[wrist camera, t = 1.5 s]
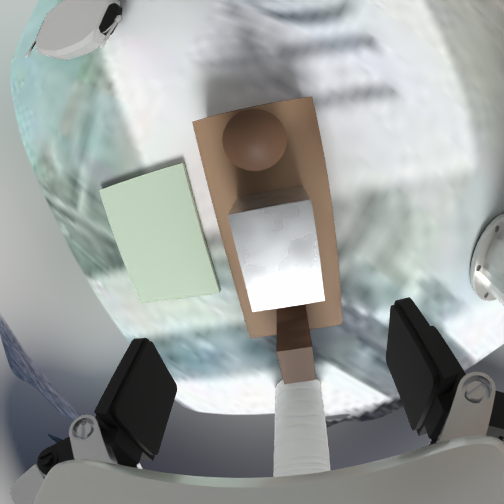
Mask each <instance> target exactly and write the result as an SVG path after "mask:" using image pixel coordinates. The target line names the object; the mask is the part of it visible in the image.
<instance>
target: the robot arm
mask: <svg viewBox="0 0 504 504" xmlns="http://www.w3.org/2000/svg"><path fill="white" fill-rule="evenodd" d="M470 280H471V285H472V288H473V290H474V292H475V293H476V294H477V295H478V296H479V297H480V298H481V299H483V300H486V301H491V300H495V299H497V300H498V301H499V302H500V303H501V304H502V305H503V306H504V213H503V214H501V215H499V216H497V217H496V218H495V219H494V220H493V221H492V222H491V223H490V224H489V225H488V226H487V228H486V229H485V231H484V232H483V233H482V235H481V237H480V239H479V241H478V243H477V246H476V248H475V251H474V254H473V258H472V262H471V268H470ZM386 362H387V365H388V367H389V370H390V372H391V375H392V377H393V380H394V382H395V385H396V388H397V390H398V393H399V395H400V398H401V401H402V403H403V406H404V409H405V411H406V414H407V417H408V420H409V423H410V426H411V428H412V430H417V433H418V435H419V436H420V435H423V434H425V433H427V434H428V436H429V438H430V439H431V440H430V443H429V445H428V446H426V447H422V448H419V449H416V450H412V451H409V452H406V453H403V454H400V455H396V456H393V457H389V458H386V459H382V460H378V461H374V462H370V463H366V464H362V465H357V466H352V467H347V468H343V469H338V470H332V471H325V472H319V473H311V474H303V475H294V476H282V477H267V478H216V477H200V476H187V475H178V474H170V473H163V472H157V471H150V470H145V469H142V467H141V465H140V463H139V461H140V458H141V459H144V460H149V461H153V459H154V456H155V455H157V454H158V452H159V449H160V445H161V442H162V438H163V435H164V432H165V428H166V425H167V422H168V418H169V415H170V412H171V408H172V405H173V402H174V399H175V396H176V392H177V385H176V383H175V381H174V380H173V378H172V376H171V374H170V373H169V371H168V369H167V368H166V366H165V364H164V362H163V360H162V359H161V357H160V355H159V353H158V351H157V350H156V348H155V346H154V344H153V342H151V341H149V340H148V339H147V338H139V339H133V340H132V342H131V344H130V346H129V348H128V349H127V351H126V353H125V354H124V356H123V358H122V360H121V362H120V364H119V366H118V367H117V369H116V371H115V373H114V375H113V377H112V378H111V380H110V382H109V384H108V386H107V388H106V390H105V392H104V394H103V396H102V397H101V399H100V401H99V403H98V405H97V407H96V409H95V411H94V412H95V413H96V418H94V417H93V416H91V415H83V416H80V417H78V418H77V419H76V420H75V421H74V422H73V423H72V425H71V426H70V430H69V436H70V437H68V438H66V439H64V440H62V441H60V442H58V443H56V444H54V445H52V446H50V447H48V448H46V449H45V450H43V451H42V452H41V453H40V455H39V457H38V466H37V465H34V466H32V467H31V468H30V469H29V470H28V471H27V472H26V473H24V475H22V476H21V477H20V478H19V479H18V480H17V481H15V482H14V483H13V485H12V487H11V496H12V499H13V501H14V503H15V504H504V393H502V392H499V391H495V384H494V382H493V380H492V379H491V377H489V376H487V375H486V374H484V373H481V372H473V373H469V374H467V375H466V374H465V372H464V370H463V369H462V367H461V366H460V364H459V362H458V361H457V359H456V357H455V356H454V354H453V353H452V351H451V350H450V348H449V347H448V345H447V343H446V342H445V340H444V339H443V337H442V336H441V334H440V333H439V331H438V330H437V329H436V328H435V327H434V326H430V325H429V323H428V322H427V321H426V319H425V318H424V316H423V315H422V313H421V312H420V310H419V309H418V308H417V306H416V305H415V303H414V302H413V301H412V299H411V298H409V297H408V298H404V299H400V300H396V301H395V303H394V305H392V306H391V308H390V321H389V333H388V342H387V351H386Z"/></svg>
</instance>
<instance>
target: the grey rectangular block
mask: <svg viewBox="0 0 504 504" xmlns="http://www.w3.org/2000/svg"><path fill="white" fill-rule="evenodd" d="M228 219H229V223H230V227H231V231H232V235H233V239H234V243H235V246H236V250H237V254H238V258H239V262H240V266H241V270H242V273H243V277H244V281H245V285H246V289H247V292H248V296H249V300H250V304H251V307H252V311H253V312H255V311H262V310H269V309H276V308H282V307H289V306H295V305H301V304H307V303H313V302H319V301H324V300H325V299H324V290H323V281H322V272H321V264H320V256H319V248H318V241H317V234H316V227H315V220H314V213H313V207H312V201H311V198H310V197H309V195H308V193H307V192H306V190H305V188H304V187H303V185H298V186H292V187H287V188H281V189H276V190H271V191H265V192H260V193H255V194H250V195H245V196H240V197H237V199H236V200H235V202H234V204H233V206H232V208H231V210H230V211H229V213H228Z"/></svg>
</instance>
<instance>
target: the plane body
mask: <svg viewBox="0 0 504 504" xmlns="http://www.w3.org/2000/svg"><path fill="white" fill-rule="evenodd" d="M192 123H193V127H194V131H195V135H196V139H197V143H198V148H199V152H200V156H201V160H202V164H203V168H204V172H205V176H206V180H207V183H208V187H209V191H210V195H211V199H212V203H213V207H214V210H215V214H216V218H217V222H218V226H219V229H220V233H221V237H222V240H223V244H224V248H225V251H226V255H227V259H228V262H229V266H230V270H231V273H232V277H233V280H234V284H235V287H236V291H237V294H238V298H239V301H240V305H241V308H242V312H243V315H244V319H245V322H246V325H247V329H248V332H249V336H250V338H255V337H263V336H270V335H277V356H278V360H279V364H280V369H281V373H282V377H283V381H284V384H291V383H298V382H305V381H312V380H316V377H315V368H314V359H313V350H312V343H311V336H310V329H316V328H322V327H328V326H333V325H339V324H342V304H341V289H340V275H339V264H338V253H337V244H336V235H335V226H334V218H333V210H332V203H331V196H330V189H329V183H328V176H327V170H326V164H325V158H324V153H323V147H322V142H321V137H320V132H319V127H318V122H317V117H316V113H315V108H314V104H313V99H312V97H305V98H298V99H292V100H285V101H280V102H274V103H269V104H263V105H258V106H253V107H249V108H244V109H240V110H235V111H231V112H227V113H223V114H219V115H215V116H211V117H208V118H204V119H200V120H197V121H194V122H192ZM298 185H303V187H304V188H305V190H306V192H307V193H308V195H309V197H310V198H311V201H312V207H313V213H314V220H315V227H316V234H317V241H318V248H319V256H320V264H321V272H322V281H323V290H324V299H325V300H324V301H319V302H313V303H307V304H301V305H295V306H289V307H282V308H276V309H269V310H262V311H255V312H253V311H252V307H251V304H250V300H249V296H248V292H247V289H246V285H245V281H244V277H243V273H242V270H241V266H240V262H239V258H238V254H237V250H236V246H235V243H234V239H233V235H232V231H231V227H230V223H229V219H228V213H229V211H230V210H231V208H232V206H233V204H234V202H235V200H236V199H237V197H240V196H245V195H250V194H255V193H260V192H265V191H271V190H276V189H281V188H287V187H292V186H298Z"/></svg>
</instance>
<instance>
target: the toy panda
mask: <svg viewBox="0 0 504 504" xmlns="http://www.w3.org/2000/svg"><path fill="white" fill-rule="evenodd" d="M121 15H122V8H121V7H120V2H119V1H118V0H64V1H62V2H60V3H59V4H57V5H56V6H55V7H54V8H53V9H52V10H51V11H50V12H49V13H48V14H47V15H46V17H45V19H44V21H43V23H42V26H41V28H40V30H39V33H38V35H37V38H36V39H35V41H34V43H33V44H32V46H31V48H30V49H29V51H28V52H27V54H26V58H27V57H28V56H29V55H30V53H31V50H32V49H33V47H34V45H35V44H36V49H37V50H38V52H39V53H40V54H42V55H46V56H49V57H52V58H55V59H64V60H68V59H72V58H75V57H79V56H82V55H85V54H88V53H90V52H92V51H94V50H95V49H97V48H98V47H100V48H102V47H103V46H104V45H105V43H106V41H107V39H108V38H109V36H110V35H111V34H112V33H113V32H114V30H115V28H116V26H117V24H118V22H120V21H121V19H122V17H121Z"/></svg>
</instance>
